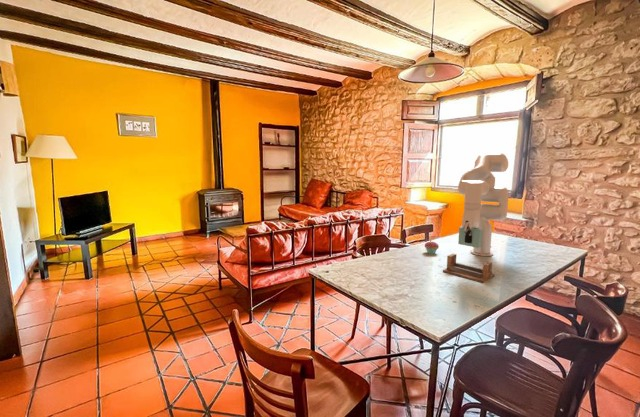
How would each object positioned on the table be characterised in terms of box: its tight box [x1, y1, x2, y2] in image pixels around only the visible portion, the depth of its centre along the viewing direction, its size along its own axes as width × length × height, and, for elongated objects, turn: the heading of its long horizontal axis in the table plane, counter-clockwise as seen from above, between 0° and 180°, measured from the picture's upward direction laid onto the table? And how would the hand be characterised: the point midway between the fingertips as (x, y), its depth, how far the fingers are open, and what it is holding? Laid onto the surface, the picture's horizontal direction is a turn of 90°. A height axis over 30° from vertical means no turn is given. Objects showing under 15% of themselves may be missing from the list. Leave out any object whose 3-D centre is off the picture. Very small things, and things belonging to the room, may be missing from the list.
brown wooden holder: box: [442, 253, 495, 284], centre depth 154 cm, size 14×20×8 cm
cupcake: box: [424, 235, 440, 255], centre depth 190 cm, size 9×8×12 cm
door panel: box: [457, 225, 483, 248], centre depth 151 cm, size 4×10×9 cm, turn 40°
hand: (470, 241), depth 152 cm, fingers closed on door panel, 4 cm apart
